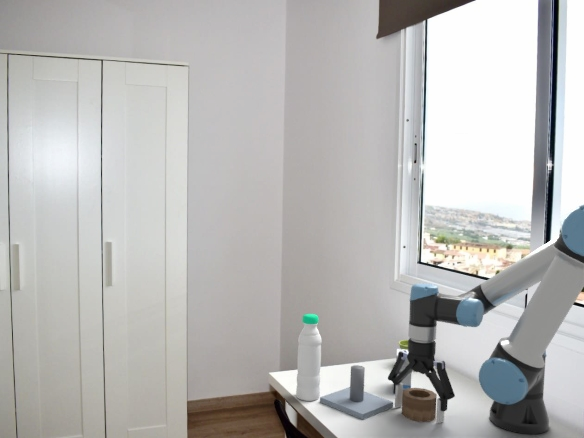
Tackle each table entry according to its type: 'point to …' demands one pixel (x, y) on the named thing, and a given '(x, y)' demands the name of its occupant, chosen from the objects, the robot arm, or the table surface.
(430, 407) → the collar
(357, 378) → the stand
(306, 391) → the water bottle
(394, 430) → the table surface
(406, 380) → the ink box
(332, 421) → the table surface
